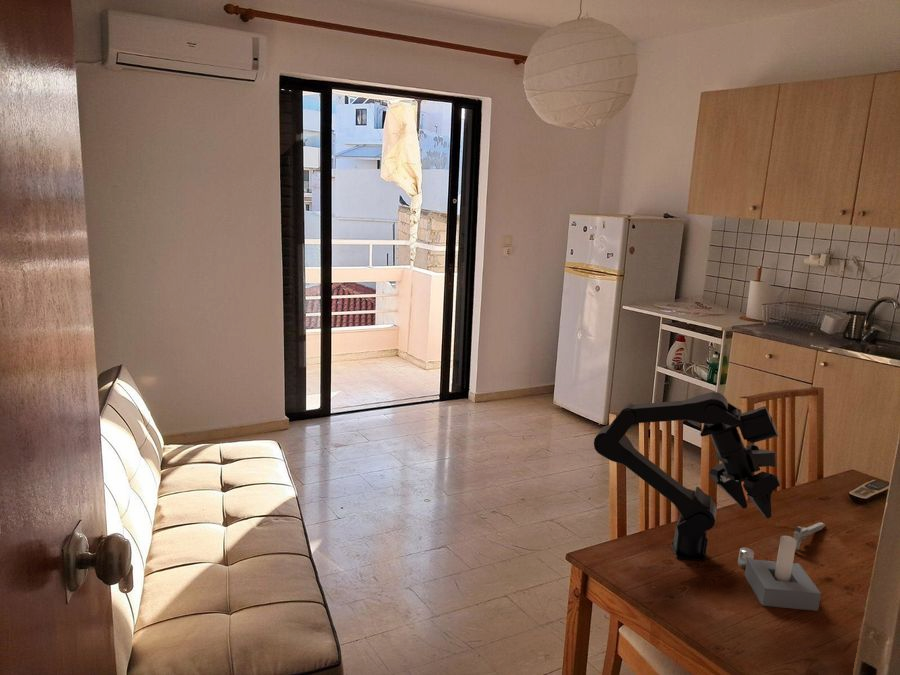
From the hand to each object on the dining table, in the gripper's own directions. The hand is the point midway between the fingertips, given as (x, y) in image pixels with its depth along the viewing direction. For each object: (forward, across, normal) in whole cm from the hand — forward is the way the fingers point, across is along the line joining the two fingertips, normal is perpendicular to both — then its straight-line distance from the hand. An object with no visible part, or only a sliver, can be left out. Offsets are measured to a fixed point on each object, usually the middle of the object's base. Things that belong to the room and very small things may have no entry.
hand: (756, 512), depth 148 cm
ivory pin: (+15, -6, +5) cm, 17 cm away
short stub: (+12, +5, +5) cm, 14 cm away
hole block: (+15, -6, +5) cm, 17 cm away
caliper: (+19, +15, -17) cm, 29 cm away
